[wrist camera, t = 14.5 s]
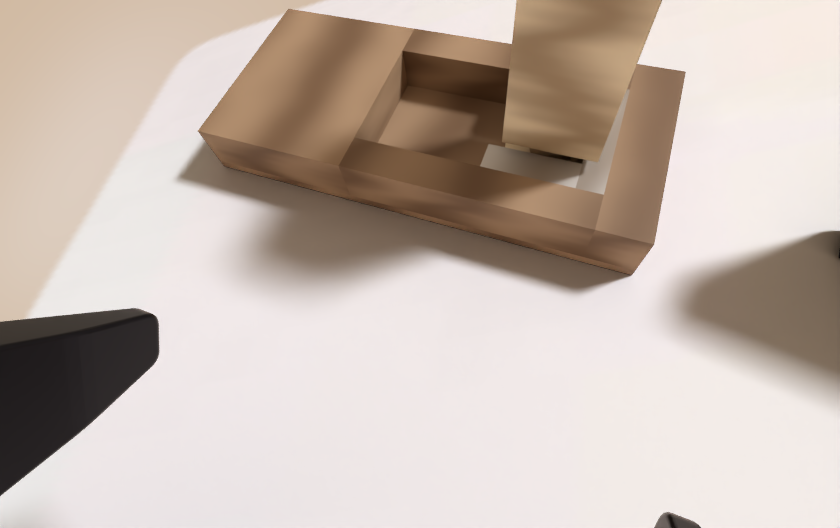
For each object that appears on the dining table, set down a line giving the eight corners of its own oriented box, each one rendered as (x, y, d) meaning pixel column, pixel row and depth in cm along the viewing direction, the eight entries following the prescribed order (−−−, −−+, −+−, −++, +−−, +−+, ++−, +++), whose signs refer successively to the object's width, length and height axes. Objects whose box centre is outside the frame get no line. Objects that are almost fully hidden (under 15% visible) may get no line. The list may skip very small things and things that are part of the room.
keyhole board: (224, 166, 29) (198, 131, 26) (303, 49, 33) (288, 9, 30) (631, 275, 23) (654, 244, 20) (663, 115, 27) (685, 71, 24)
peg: (493, 184, 25) (525, -167, 12) (516, 119, 27) (565, -243, 14) (585, 205, 24) (733, -156, 11) (602, 136, 26) (746, -241, 13)
